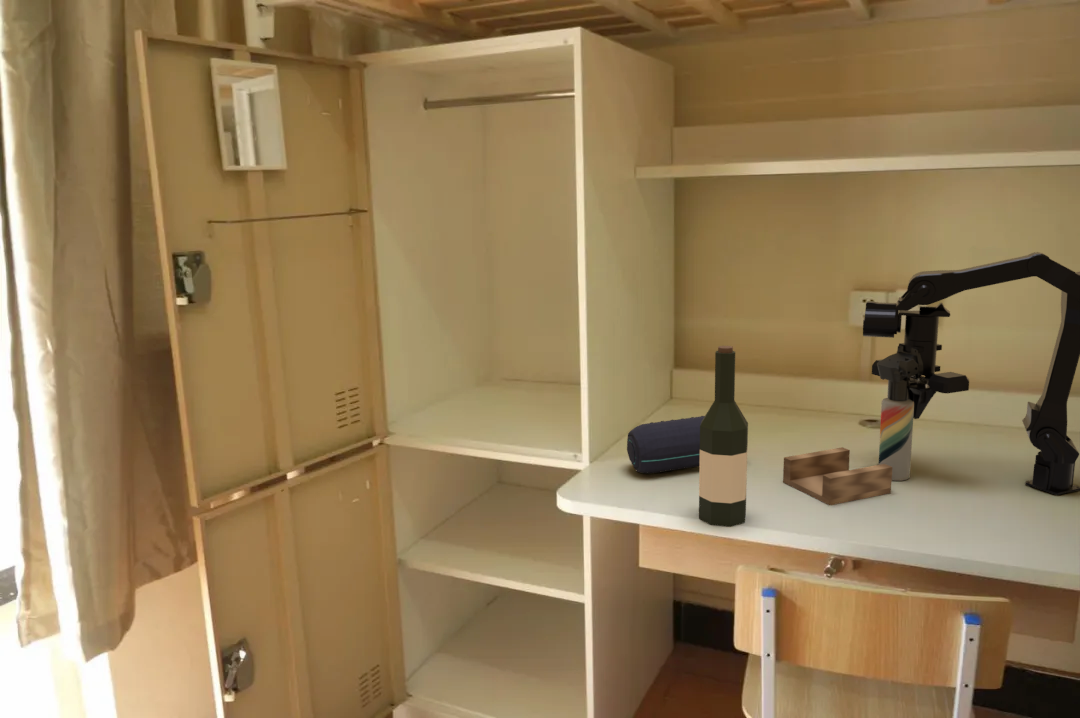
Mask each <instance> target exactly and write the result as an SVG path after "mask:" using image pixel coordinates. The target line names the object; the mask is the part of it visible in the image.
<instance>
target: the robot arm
mask: <svg viewBox="0 0 1080 718" xmlns="http://www.w3.org/2000/svg"><path fill="white" fill-rule="evenodd" d="M1031 277H1037V278H1039V279H1040V280H1042V281H1044V282H1046V283H1047V284H1049V285H1051V286H1053V287H1055V288H1056V289H1058V290H1060V291H1061V294H1060V295H1061V296H1060V316H1061V317H1060V324H1059V327H1058V328H1059V329H1058V332H1057V336H1056V339H1055V343H1054V348H1053V350H1052V351H1053V352H1052V356H1051V359H1050V363H1049V366H1048V370H1047V374H1046V378H1045V382H1044V386H1043V389H1042V393H1041V394H1040V395H1041V396H1040V397H1039V398H1038V400H1037V401H1036V403H1034V402H1031V401H1027V405H1026V406H1027V407H1026V414H1025V416H1024V418H1023V419H1022V424H1023V426H1024V429H1025V431H1026V434H1027V436H1028V440H1029V441H1030V444H1032V446H1033V447H1034V448H1036V449H1038V450H1040V451H1037V454H1036V455H1035V458H1034V459H1035V460H1034V464H1033V472H1032V479H1030V480H1026V481H1025V483H1024V484H1025V485H1026V486H1029V487H1032V488H1035V489H1037V490H1040V491H1043V492H1047V493H1049V494H1052V495H1054V496H1059V495H1065V494H1068V493H1073V492H1078V491H1080V486H1078V485H1075V484H1074V476H1075V468H1076V467H1075V466H1076V461H1077V459H1078V458H1079V456H1080V453H1079V451H1078V449H1077V446H1076V445H1075V443H1074V441H1073V440H1072V438H1070V436H1069V435H1067V434H1068V401H1069V396H1070V393H1071V390H1072V385H1073V381H1074V379H1075V375H1076V371H1077V368H1078V363H1079V360H1080V271H1074V270H1072V269H1070V268H1068V267H1067V266H1064V265H1062V264H1061V263H1059V262H1057V261H1055V260H1053V259H1051V258H1050V257H1049V256H1048V255H1046V253H1043V252H1039V251H1035V252H1031V253H1029V254H1026V255H1023V256H1018V257H1013V258H1008V259H1004V260H1003V259H1002V260H999V261H995V262H990V263H986V264H981V265H976V266H972V267H968V268H962V269H953V270H952V269H951V270H950V269H949V270H948V269H946V270H945V269H944V270H943V269H940V270H926V271H925V270H924V271H920V272H917V273H915V274H913V275H912V276H911V277H910V279H909V280H908V283H907V290H906V291H905V292H904V293H903V294H902V295H901V296H900V297H898V300H896V302H878V301H874V300H873V301H872V300H871V301H870V300H868V301H866V302H865V311H864V318H863V321H862V322H863V323H862V337H869V338H871V337H874V338H891V339H892V338H895V335H898V333H900V334H901V333H902V319H903V317H902V316H905V319H904V320H905V321H904V322H905V323H904V334H903V335H904V338H903V339H904V340H903V342H901V343H898V346H897V351H896V352H895V353H893V354H891V355H887V357H885V358H881V359H875V360H874V362H873V363H872V365H871V375H874V376H878V377H879V378H880V380H886V381H888V380H890V381H891V382H894V383H897V382H900V381H902V380H903V379H904V378H906V377H908V378H909V379H910V389H909V399H910V400H912V401H913V402H914V416H913V420H918V419H920V418H921V416H922V414H923V412H924V411H925V410H926V407H928V405H929V404H930V403H929V402H931V400H932V399H933V397H934V396H935V395H936V393H941V394H955V393H959V392H960V393H962V392H966V391H969V389H970V379H969V378H968V376H967V375H966V374H961V373H958V372H954V371H953V372H952V371H947V372H946V371H945V372H941V365H937V364H936V362H937V352H938V351H942V349H943V345H942V344H939V343H938V337H939V336H938V335H939V323H940V318H950V317H951V311H950V310H948V309H947V308H946V307H945V305H944V304H943V302H940V301H943V300H945V299H948V298H950V297H952V296H954V295H957V294H959V293H962V292H964V291H969V290H974V289H977V288H984V287H988V286H989V287H990V286H993V285H997V284H1002V283H1007V282H1012V281H1019V280H1023V279H1027V278H1031ZM938 302H939V304H937V305H936V306H930V305H933V304H934V303H938ZM928 305H929V306H928ZM917 306H919V310H911V309H914V308H915V307H917ZM938 372H940V373H938Z"/></svg>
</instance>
